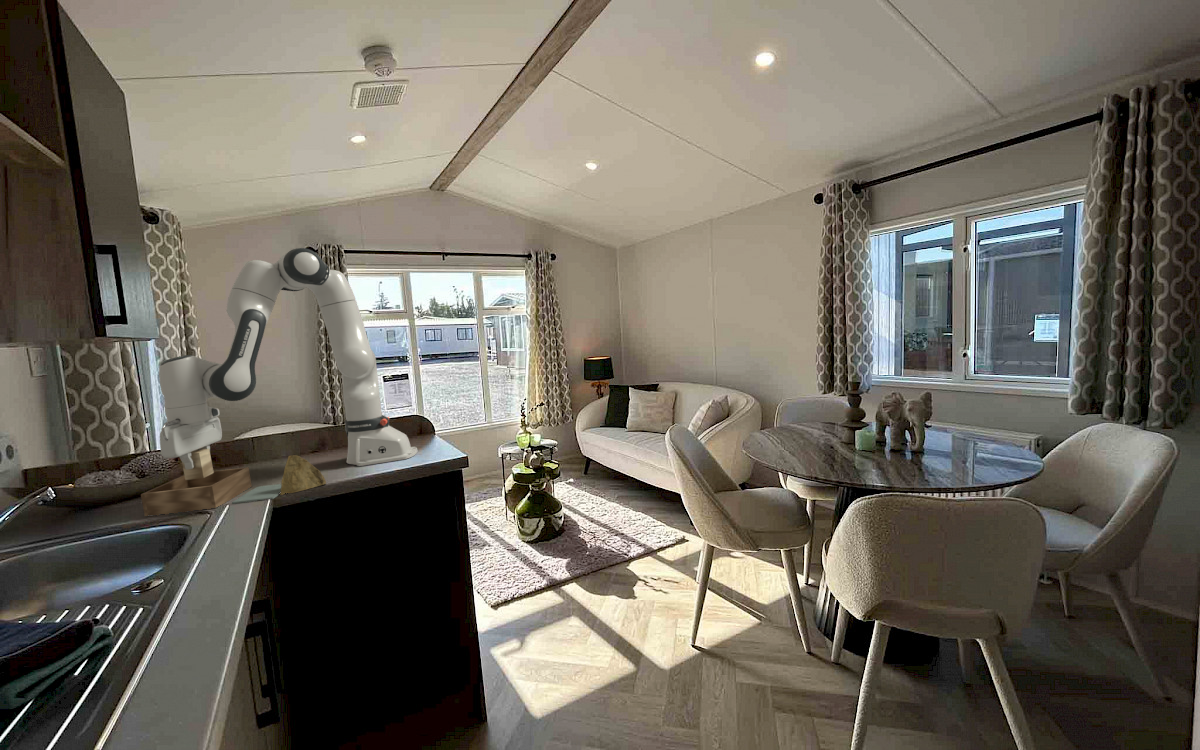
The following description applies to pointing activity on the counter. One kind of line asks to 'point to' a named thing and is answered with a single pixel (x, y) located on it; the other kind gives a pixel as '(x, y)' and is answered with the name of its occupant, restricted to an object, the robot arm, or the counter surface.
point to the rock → (300, 476)
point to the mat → (260, 493)
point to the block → (199, 465)
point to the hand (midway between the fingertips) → (197, 465)
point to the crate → (196, 492)
